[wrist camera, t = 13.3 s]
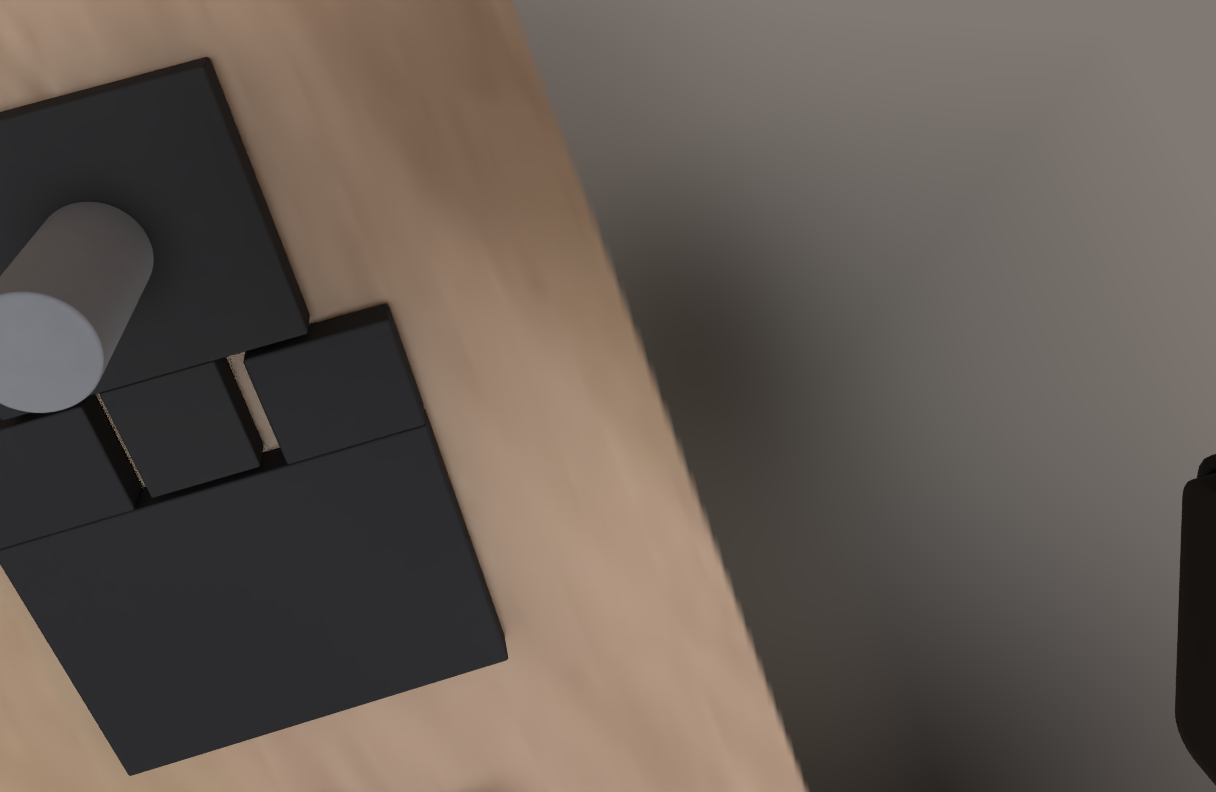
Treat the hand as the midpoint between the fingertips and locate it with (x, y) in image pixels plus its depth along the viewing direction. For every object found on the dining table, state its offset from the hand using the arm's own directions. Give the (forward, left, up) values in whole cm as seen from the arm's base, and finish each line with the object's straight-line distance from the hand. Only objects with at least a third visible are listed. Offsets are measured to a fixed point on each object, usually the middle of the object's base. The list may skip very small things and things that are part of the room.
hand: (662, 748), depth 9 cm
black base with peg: (+9, +2, -22) cm, 24 cm away
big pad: (+9, +10, -22) cm, 26 cm away
